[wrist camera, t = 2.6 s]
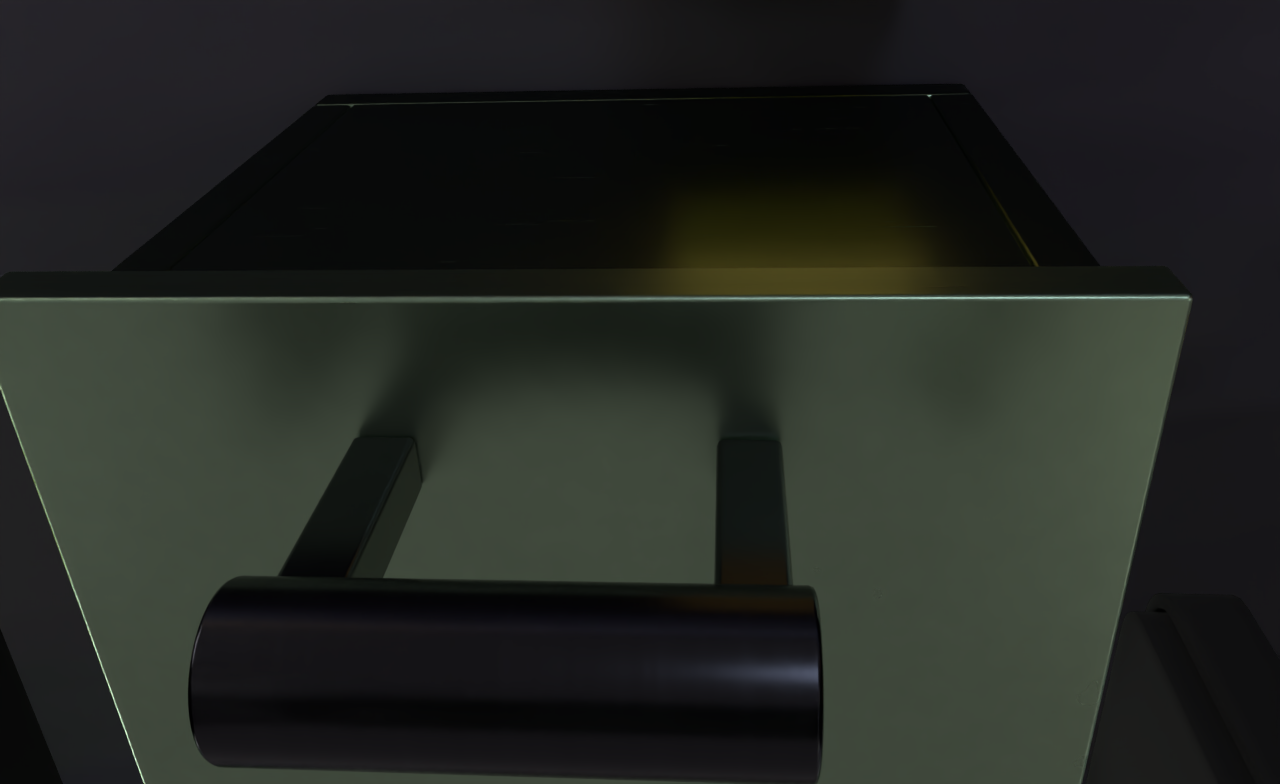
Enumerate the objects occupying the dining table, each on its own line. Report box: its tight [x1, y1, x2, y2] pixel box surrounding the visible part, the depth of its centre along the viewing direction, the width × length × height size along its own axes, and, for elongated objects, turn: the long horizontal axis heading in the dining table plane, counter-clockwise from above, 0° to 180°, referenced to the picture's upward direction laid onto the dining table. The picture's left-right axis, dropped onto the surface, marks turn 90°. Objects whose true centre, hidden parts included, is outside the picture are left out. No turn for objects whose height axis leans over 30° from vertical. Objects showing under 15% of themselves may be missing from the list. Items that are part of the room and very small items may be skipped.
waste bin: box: [112, 84, 1100, 271], centre depth 21 cm, size 16×13×11 cm
